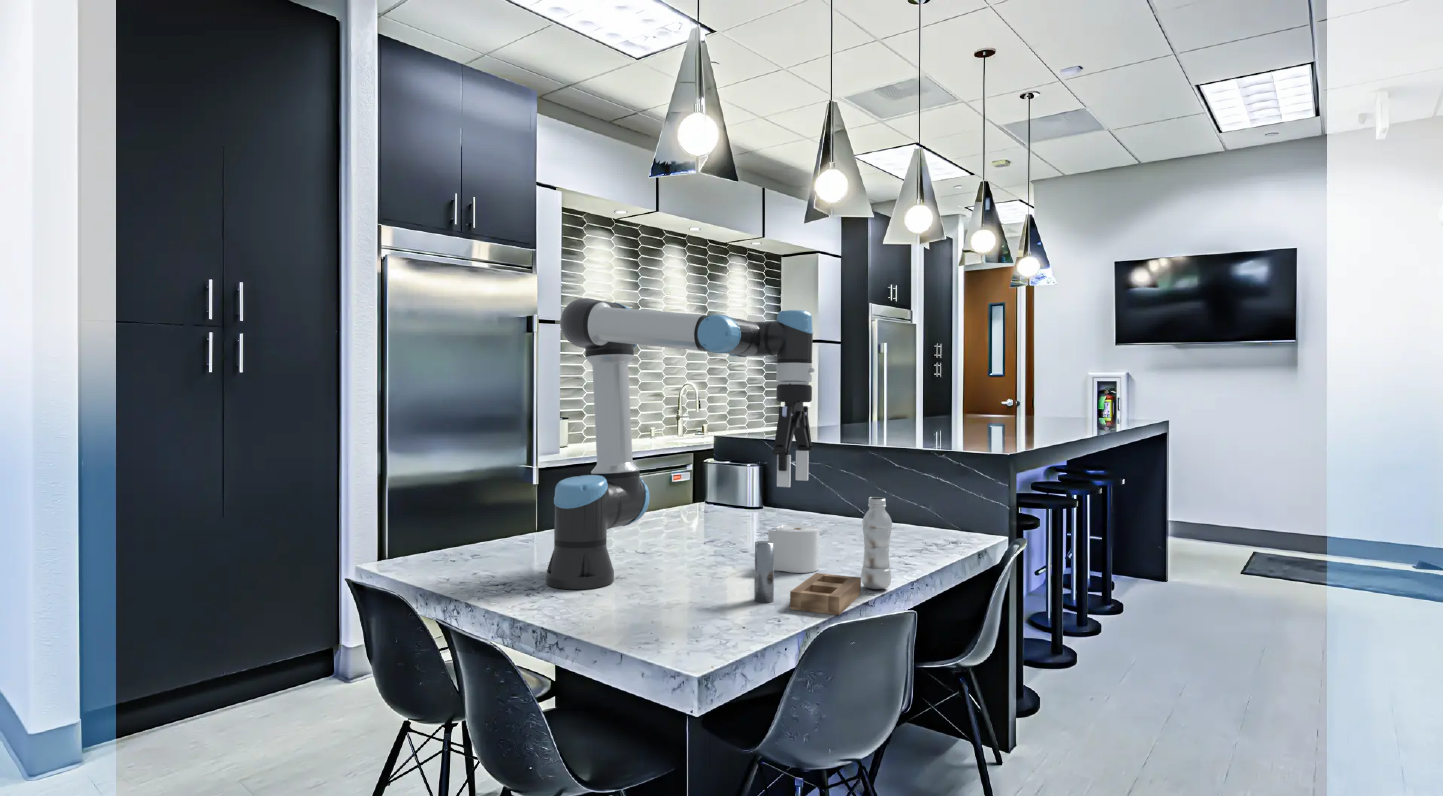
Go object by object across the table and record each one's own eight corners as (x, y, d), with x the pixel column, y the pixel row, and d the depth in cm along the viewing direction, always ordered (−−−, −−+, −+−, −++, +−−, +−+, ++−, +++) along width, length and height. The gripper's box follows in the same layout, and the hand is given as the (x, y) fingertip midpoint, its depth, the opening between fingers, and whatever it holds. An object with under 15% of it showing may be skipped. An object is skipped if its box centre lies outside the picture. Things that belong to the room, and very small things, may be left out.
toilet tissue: (826, 567, 193) (826, 527, 193) (805, 576, 183) (806, 534, 183) (787, 562, 199) (787, 523, 198) (765, 571, 188) (765, 529, 188)
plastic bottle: (871, 583, 176) (872, 495, 176) (897, 589, 172) (898, 498, 172) (854, 588, 172) (855, 497, 172) (880, 594, 167) (881, 501, 167)
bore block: (790, 609, 155) (790, 591, 155) (815, 588, 171) (816, 572, 171) (839, 615, 151) (839, 597, 151) (860, 593, 167) (860, 577, 167)
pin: (751, 601, 160) (752, 543, 160) (758, 597, 164) (758, 540, 164) (769, 603, 158) (770, 545, 158) (776, 599, 162) (776, 541, 162)
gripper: (794, 382, 152) (793, 490, 152) (825, 384, 176) (824, 478, 176) (758, 382, 155) (757, 488, 155) (794, 384, 178) (792, 477, 178)
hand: (793, 483), depth 165 cm, fingers open, 13 cm apart
